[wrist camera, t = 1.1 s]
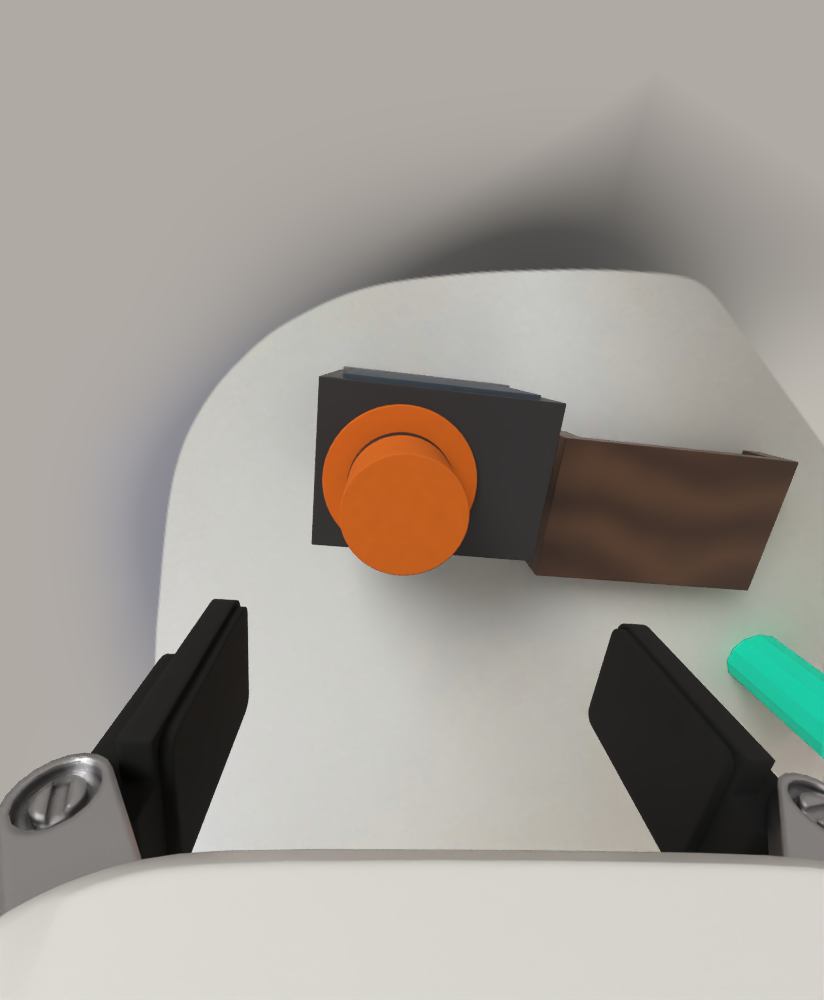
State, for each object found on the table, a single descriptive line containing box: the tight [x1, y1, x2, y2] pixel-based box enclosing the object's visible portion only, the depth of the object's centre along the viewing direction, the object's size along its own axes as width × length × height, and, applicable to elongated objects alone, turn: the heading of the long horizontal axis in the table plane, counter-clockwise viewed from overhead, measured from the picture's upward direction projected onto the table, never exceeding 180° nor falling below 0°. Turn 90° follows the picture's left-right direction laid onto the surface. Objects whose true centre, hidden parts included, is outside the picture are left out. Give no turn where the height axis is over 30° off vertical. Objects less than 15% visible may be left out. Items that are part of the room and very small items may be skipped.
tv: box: [312, 366, 566, 561], centre depth 31 cm, size 10×14×12 cm
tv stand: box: [526, 431, 798, 590], centre depth 38 cm, size 12×20×4 cm, turn 84°
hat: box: [322, 404, 477, 575], centre depth 23 cm, size 9×9×6 cm
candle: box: [727, 635, 824, 758], centre depth 41 cm, size 6×6×12 cm
